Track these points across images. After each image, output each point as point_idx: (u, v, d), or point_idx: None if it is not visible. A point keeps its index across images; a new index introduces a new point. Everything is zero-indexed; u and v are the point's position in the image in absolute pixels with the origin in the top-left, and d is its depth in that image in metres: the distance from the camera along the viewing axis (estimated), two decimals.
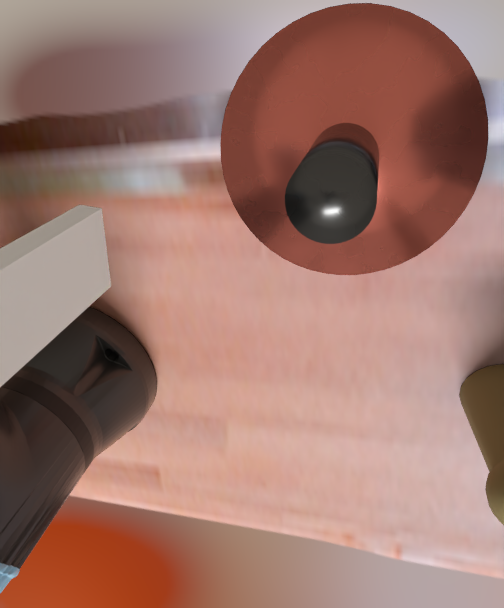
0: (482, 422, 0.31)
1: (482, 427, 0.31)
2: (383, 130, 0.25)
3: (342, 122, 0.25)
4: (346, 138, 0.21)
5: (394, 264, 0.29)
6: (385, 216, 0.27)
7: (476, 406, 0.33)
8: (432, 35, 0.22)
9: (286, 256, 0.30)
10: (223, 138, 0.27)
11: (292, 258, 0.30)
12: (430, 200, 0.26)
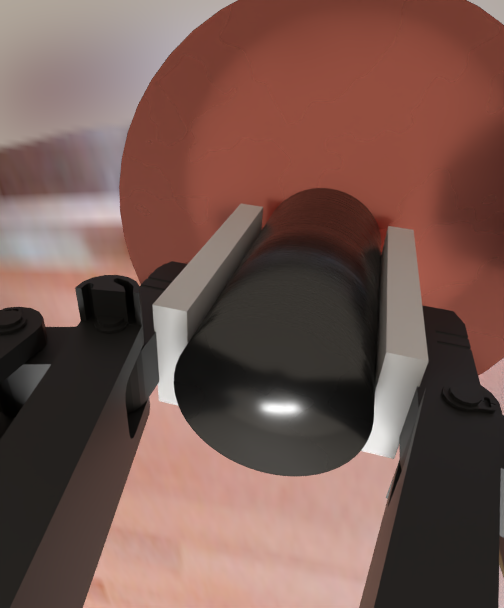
0: None
1: None
2: (389, 202, 0.14)
3: (316, 187, 0.14)
4: (314, 243, 0.11)
5: None
6: None
7: None
8: (486, 34, 0.11)
9: None
10: (123, 204, 0.17)
11: None
12: (468, 316, 0.15)
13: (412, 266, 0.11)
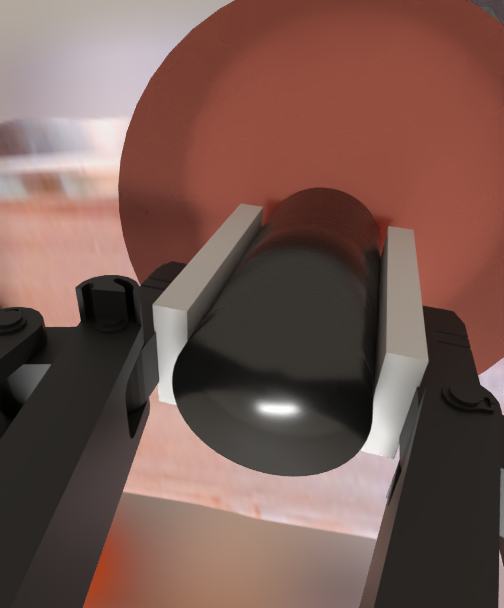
0: None
1: None
2: (389, 202, 0.14)
3: (316, 186, 0.14)
4: (313, 242, 0.11)
5: None
6: None
7: None
8: (485, 33, 0.11)
9: None
10: (122, 204, 0.17)
11: None
12: (468, 315, 0.15)
13: (412, 266, 0.11)
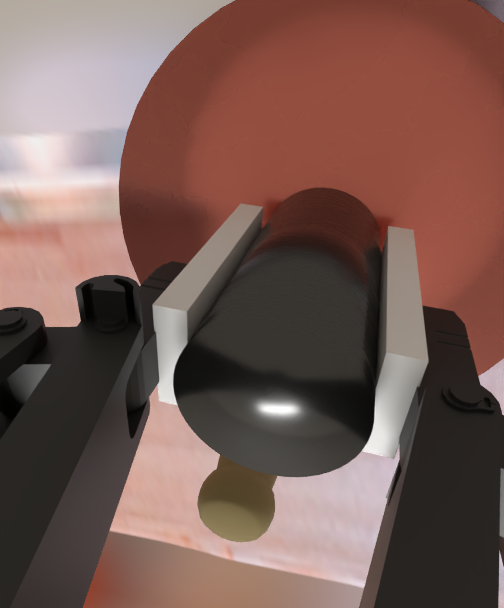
0: None
1: None
2: (390, 202, 0.14)
3: (316, 186, 0.14)
4: (314, 242, 0.11)
5: None
6: None
7: None
8: (487, 33, 0.11)
9: None
10: (123, 204, 0.16)
11: None
12: (469, 316, 0.15)
13: (412, 266, 0.11)
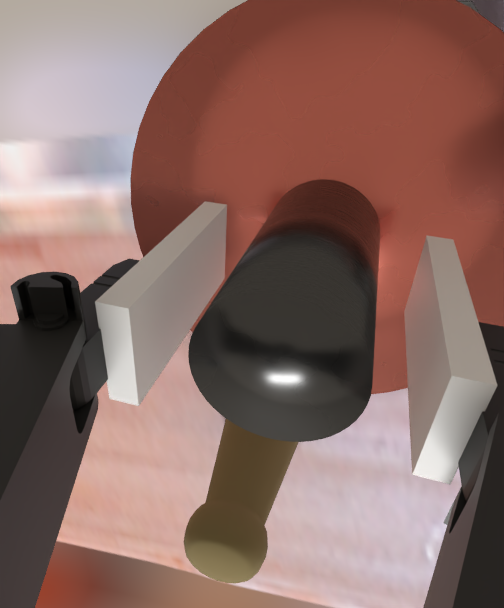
0: None
1: (214, 467, 0.32)
2: (388, 193, 0.15)
3: (319, 178, 0.15)
4: (317, 227, 0.11)
5: (403, 386, 0.19)
6: (389, 320, 0.17)
7: (220, 444, 0.33)
8: (478, 34, 0.12)
9: None
10: (134, 196, 0.17)
11: None
12: None
13: (460, 279, 0.11)
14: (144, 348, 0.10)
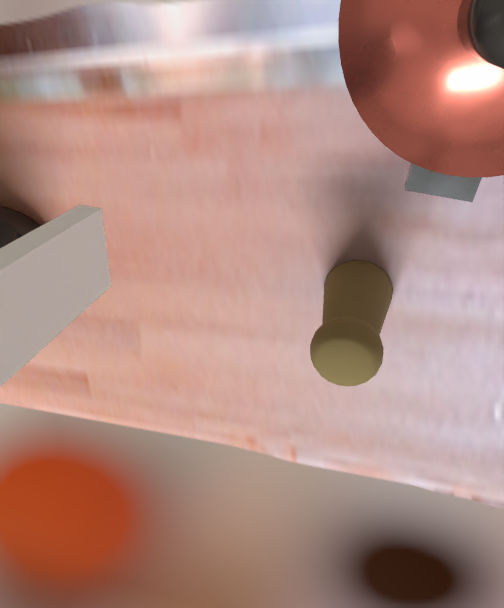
0: (325, 302, 0.36)
1: (325, 306, 0.36)
2: None
3: None
4: None
5: None
6: None
7: (326, 292, 0.38)
8: None
9: (403, 153, 0.25)
10: None
11: (410, 155, 0.25)
12: None
13: None
14: None
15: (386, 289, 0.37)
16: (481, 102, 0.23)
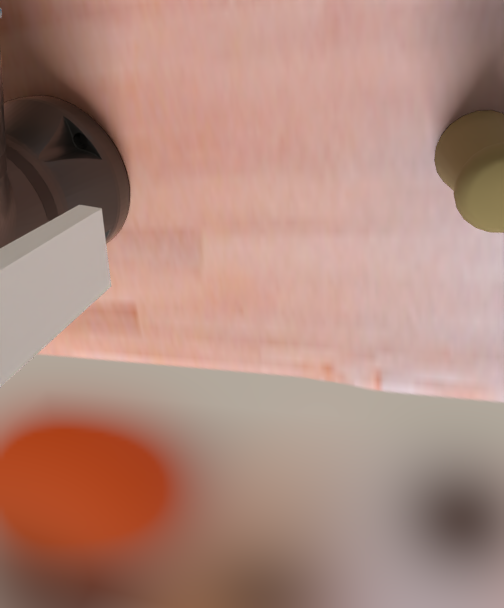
0: (454, 153, 0.30)
1: (453, 157, 0.30)
2: None
3: None
4: None
5: None
6: None
7: (448, 147, 0.32)
8: None
9: None
10: None
11: None
12: None
13: None
14: None
15: None
16: None
